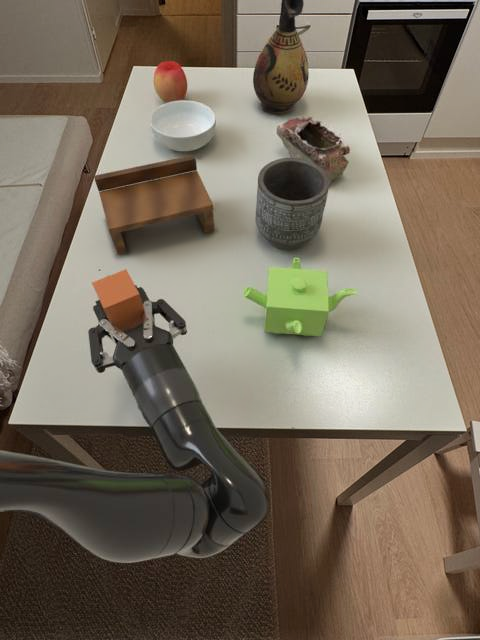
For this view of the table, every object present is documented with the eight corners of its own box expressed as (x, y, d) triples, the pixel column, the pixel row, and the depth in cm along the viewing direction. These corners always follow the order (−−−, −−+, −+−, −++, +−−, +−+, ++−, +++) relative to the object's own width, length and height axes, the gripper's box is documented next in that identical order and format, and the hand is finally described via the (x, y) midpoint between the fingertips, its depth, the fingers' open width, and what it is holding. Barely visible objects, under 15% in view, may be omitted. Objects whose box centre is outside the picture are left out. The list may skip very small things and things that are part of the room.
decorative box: (302, 197, 100) (308, 162, 92) (262, 152, 110) (264, 117, 102) (347, 181, 104) (356, 146, 96) (303, 139, 114) (309, 104, 106)
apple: (155, 94, 126) (150, 58, 117) (187, 91, 127) (183, 56, 118) (157, 111, 120) (152, 75, 112) (190, 108, 121) (187, 72, 113)
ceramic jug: (308, 120, 119) (327, -6, 94) (254, 121, 118) (259, -5, 93) (299, 89, 128) (315, -34, 103) (249, 90, 127) (253, -33, 102)
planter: (328, 228, 95) (342, 173, 82) (297, 267, 88) (308, 214, 76) (275, 204, 99) (281, 148, 86) (242, 240, 92) (243, 185, 80)
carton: (124, 352, 64) (103, 308, 54) (112, 329, 67) (91, 282, 57) (153, 339, 66) (139, 293, 56) (141, 316, 68) (126, 269, 58)
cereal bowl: (158, 165, 107) (153, 140, 101) (150, 128, 116) (146, 103, 110) (222, 156, 109) (221, 131, 103) (210, 121, 118) (208, 96, 112)
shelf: (118, 256, 89) (104, 217, 80) (107, 215, 96) (93, 175, 87) (214, 232, 94) (212, 193, 84) (197, 194, 101) (193, 154, 91)
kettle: (345, 322, 81) (359, 286, 71) (295, 365, 75) (303, 333, 66) (290, 277, 87) (296, 239, 77) (240, 314, 81) (240, 278, 72)
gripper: (211, 350, 52) (157, 261, 61) (102, 402, 48) (60, 300, 56) (213, 376, 59) (164, 292, 67) (117, 424, 55) (77, 329, 63)
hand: (117, 296), depth 62 cm, fingers closed on carton, 5 cm apart
